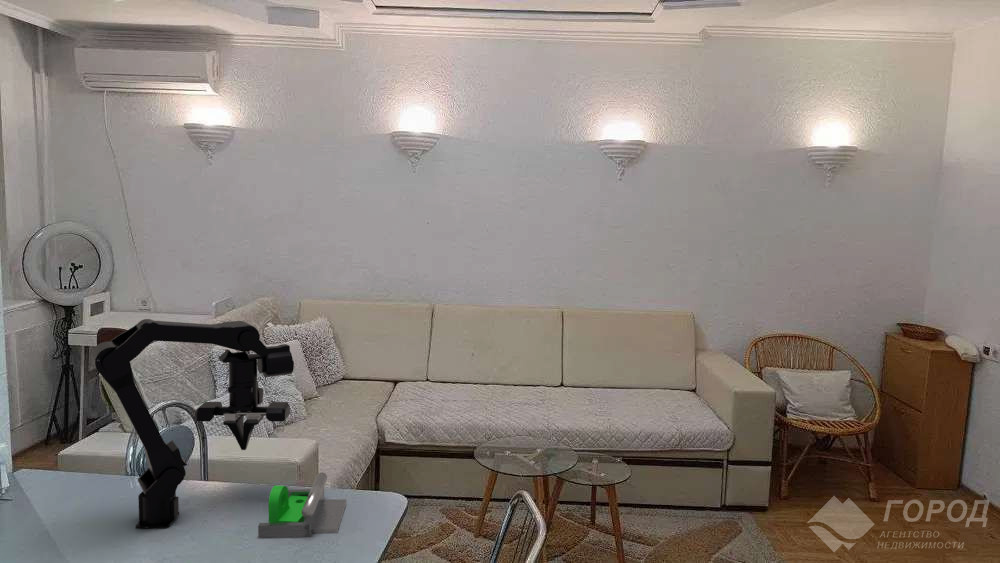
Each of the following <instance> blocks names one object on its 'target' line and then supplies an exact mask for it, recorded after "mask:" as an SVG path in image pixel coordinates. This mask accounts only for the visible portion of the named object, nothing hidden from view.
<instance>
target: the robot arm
mask: <svg viewBox="0 0 1000 563" xmlns="http://www.w3.org/2000/svg"><path fill="white" fill-rule="evenodd" d="M260 336H261V335H260V332H259V330H258V329H257V328H256V327H255V326H253V325H251V324H250V323H248V322H246V321H243V320H233V321H224V322H219V323H214V324H209V323H197V322H196V323H195V322H193V323H192V322H181V321H166V320H154V319H150V318H143V319H141V320H139V321H138V323H136V324H135V325H134V326H132V327H130V328H129V329H127V330H125V331H123V332H121V333H120V334H118V335H116V336H115V337H113V338H112V339H111V340H110V341H103V342H101V343H99V344H97V345H96V346H95V347H94V348H93V350H92V352H91V354H90V358H91V362H92V364H93V365H94V367H95V369H96V370H97V372H98V373H99V374H100V375H101V377H102V378H103V379H104V380H105V382H106V383H107V384H108V385H109V386H110V388H111V389H112V390H113V391H114V392H115V394H116V396H117V398H118V400H119V402H120V403H121V405H122V408H123V409H124V411H125V413H126V415H127V417H128V418H129V421H130V423H131V425H132V427H133V428H134V431H135V432H136V434H137V436H138V438H139V440H140V442H141V444H142V446H143V449H144V455H145V459H146V461H147V466H148V468H147V469H146V470H144V472H143V473H142V474H141V475H140V477H138V478H137V482H138V484H139V486H140V488H141V490H142V491H141V492H140V493H139V494H138V499H137V500H138V522H137V523H136V524H135V529H162V528H163V529H164V528H166V529H167V528H169V527H171V525H172V524H173V523H174V521H175V520H176V519H177V518H178V516H179V515H180V509H179V505H180V504H179V496H176V494H177V492H176V491H177V489H178V486H179V485H180V484H181V483H182V482H183V481H184V479H185V477H186V474H187V473H186V472H187V471H186V469H185V468H186V467H187V466H188V464H187V462H186V460H185V459H184V457H182V455H181V451H180V448H179V447H178V446H177V444H176V443H175V441H174V440H170V441H169V442H167V443H166V441H164V439H163V436H162V435H161V432H160V431H159V428H158V426H157V425H156V424H155V423H156V422H155V421H154V419H153V417H152V415H151V413H150V411H149V409H148V407H147V405H146V404H145V403H146V402H144V399H143V397H142V395H141V393H140V392H139V389H138V387H137V385H136V383H135V378H134V373H133V368H132V364H131V362H132V361H133V360H134V359H136V358H137V357H138V356H139V355H140V354H141V353H142V352H144V350H145V349H146V348H147V347H148V346H150V345H151V343H153V342H170V343H171V342H172V343H173V342H174V343H191V344H207V345H208V344H209V345H215V346H216V345H217V346H219V347H223V348H227V349H225V351H223V353H222V354H221V355H219V357H218V360H219V361H221V363H223V364H226V363H228V387H227V393H228V394H229V398H228V399H229V400H228V402H229V405H228V406H223V403H222V401H204V402H203V403H202V404H201V405H200V406H198V407H197V408H196V409H195V413H194V415H195V416H194V419H195V422H211V421H212V420H213V419H214V418H215V417H216V416H224V421H223V422H222V424H223V425H224V426H227V427H228V428H229V429H230V432H231V433H232V434H233V436H234V437H235V439H236V442H237V444H238V446H239V447H240V450H241V451H246V450H247V448H248V445H249V442H250V439H251V437H252V436H251V435H252V433H253V431H254V428H255V426H258V425H259V424H260V423H261V421H262V420H263V419H264V416H265V418H266V420H267V421H269V422H282V423H283V422H285V421H287V418H288V417H289V416H290V415H291V405H290V403H288V401H271V402H270V403H269V405H268V406H259V405H261V404H263V402H264V388H262V387H259V380H258V374H262V375H263V377H264V378H272V377H279V376H280V377H281V376H287V375H292V374H293V373H294V369H295V363H294V360H293V356H292V352H291V346H290V345H289V344H287V343H284V344H283V343H282V344H278V345H271V346H270V345H269V346H266V345H265V344H264V343H263V342H262V341H261V339H260ZM229 349H230V350H229ZM231 350H235V351H234V352H232V351H231ZM248 352H252V354H248ZM245 416H246V420H245V421H244V419H245V418H244V417H245Z"/></svg>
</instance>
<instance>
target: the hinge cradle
mask: <svg viewBox="0 0 1000 563" xmlns="http://www.w3.org/2000/svg"><path fill="white" fill-rule="evenodd" d="M327 480H328V475H327V474H326V473H324V472H319V473H318V474H317V475H316V476H315V479H314V481H313V484H312V486H311V488H310V489H309V488H307V489H305V488H304V489H301V488H300V489H298V488H297V489H288V497H290V496H291V495H293V496H306V497H307V500H306V502H305V504H304V506H303V509H302V515H303V516H304V517H305V521H304V522H291V523H269V522H259V523H258V525H257V530H258V531H257V533H258V539H260V538H262V539H264V538H265V539H267V538H312V534H334V533H335V534H338V533H339V528H340V526H341V522H342V519H343V515H344V511H345V509H346V505H347V499H346V498H345V499H344V498H343V499H339V498H338V499H337V498H336V499H333V498H332V499H325V495H326V494H325V488H326V487H325V486H326V483H327Z"/></svg>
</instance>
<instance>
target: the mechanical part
mask: <svg viewBox="0 0 1000 563" xmlns="http://www.w3.org/2000/svg"><path fill="white" fill-rule="evenodd" d="M288 490H289V488H288V487H287V486H286V485H277V484H276V485H274V486H273V487H272V488H271V490H270V492H269V499H268V523H291V522H305V517H304V516H303V515H302V509H303V506H304V504H305V502H306V500H307V497H306V496H293V495H291V496H290V497H288Z"/></svg>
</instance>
